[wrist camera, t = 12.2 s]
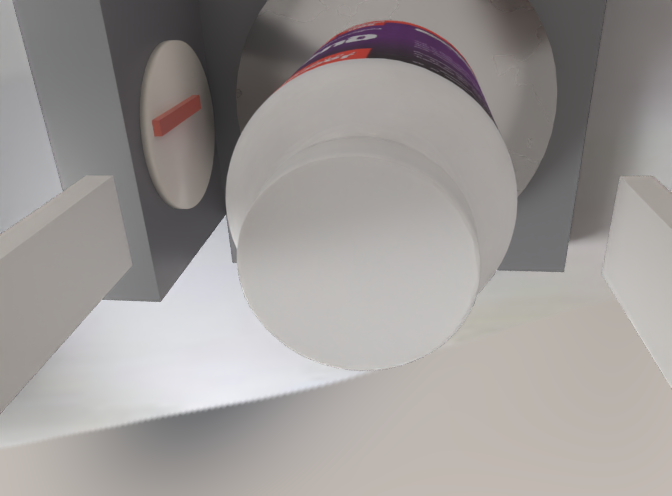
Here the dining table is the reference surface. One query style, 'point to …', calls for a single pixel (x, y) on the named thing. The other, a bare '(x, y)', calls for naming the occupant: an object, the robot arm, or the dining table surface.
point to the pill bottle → (371, 199)
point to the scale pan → (448, 21)
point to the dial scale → (235, 120)
